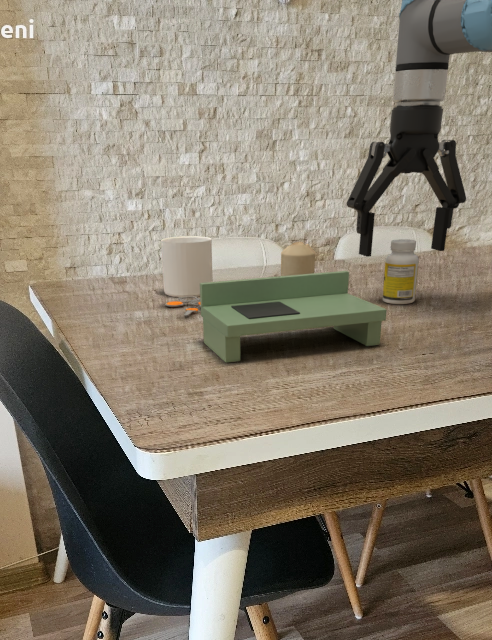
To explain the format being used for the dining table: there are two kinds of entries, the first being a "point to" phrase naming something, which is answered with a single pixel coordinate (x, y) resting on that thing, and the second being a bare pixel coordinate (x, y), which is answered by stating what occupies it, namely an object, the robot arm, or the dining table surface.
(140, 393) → the dining table surface
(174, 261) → the mug
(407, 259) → the supplement bottle
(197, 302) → the key chain
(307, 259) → the candle
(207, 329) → the green l-shaped stand
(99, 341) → the dining table surface
